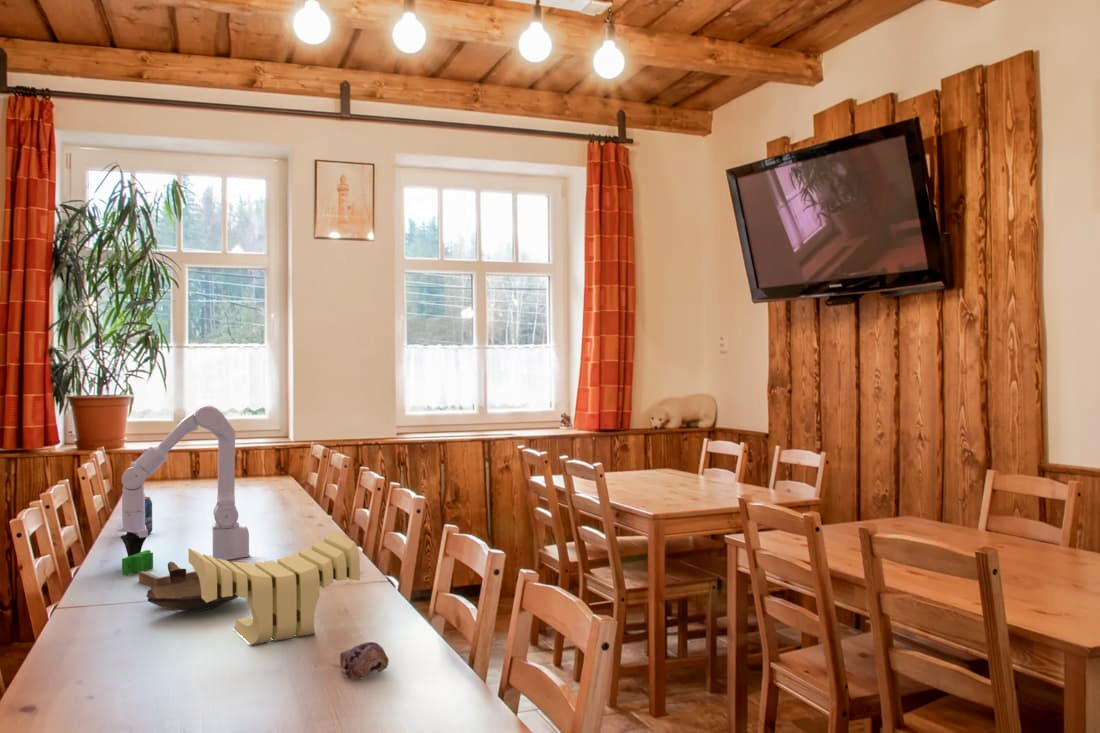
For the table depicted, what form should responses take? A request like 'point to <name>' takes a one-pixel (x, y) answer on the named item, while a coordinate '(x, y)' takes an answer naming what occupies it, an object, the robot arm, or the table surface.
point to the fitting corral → (162, 579)
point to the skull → (363, 660)
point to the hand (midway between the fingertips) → (133, 560)
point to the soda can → (148, 514)
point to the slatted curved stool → (279, 586)
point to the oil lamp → (183, 593)
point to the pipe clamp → (137, 562)
